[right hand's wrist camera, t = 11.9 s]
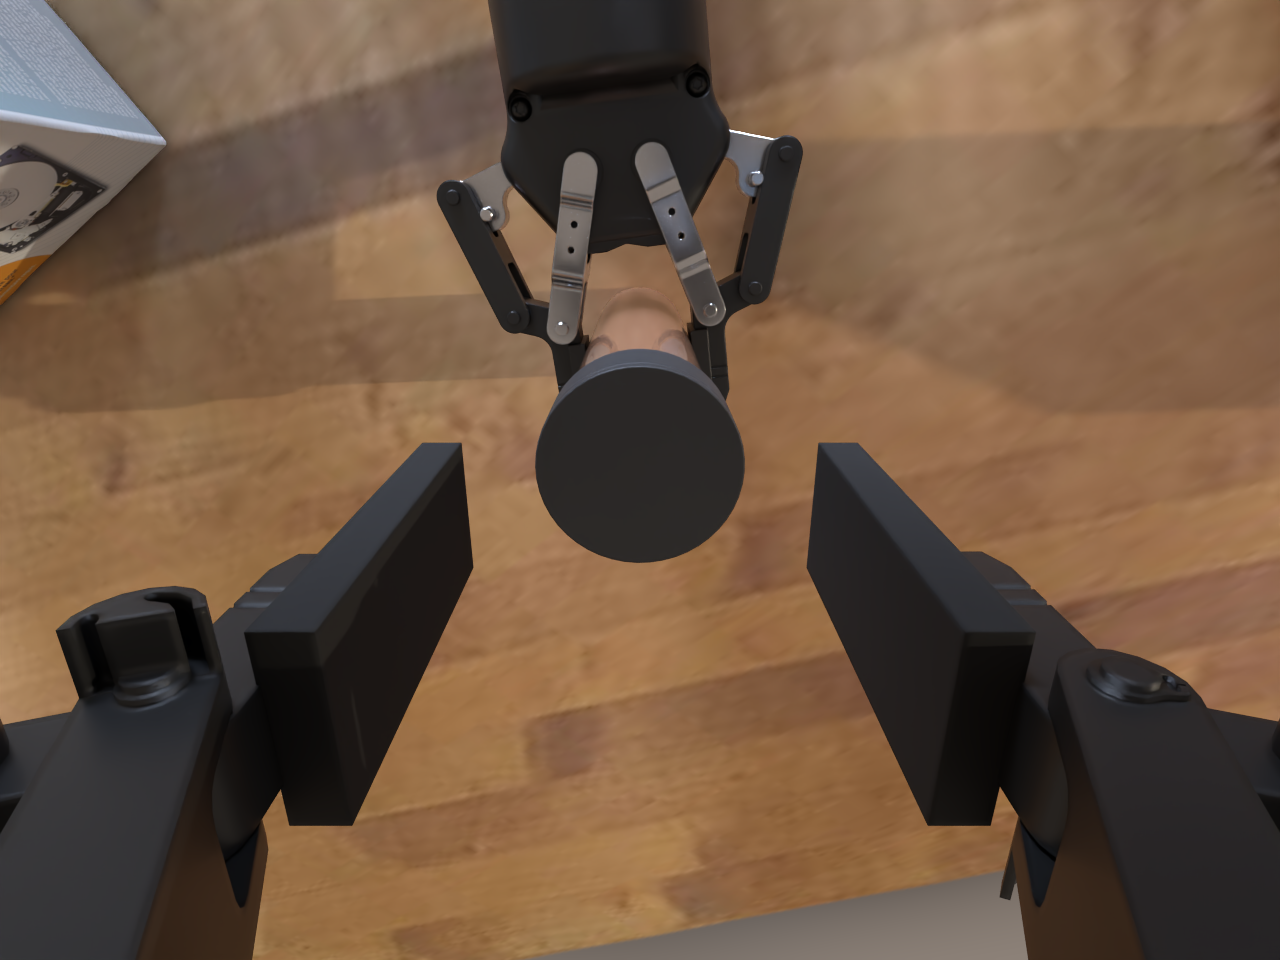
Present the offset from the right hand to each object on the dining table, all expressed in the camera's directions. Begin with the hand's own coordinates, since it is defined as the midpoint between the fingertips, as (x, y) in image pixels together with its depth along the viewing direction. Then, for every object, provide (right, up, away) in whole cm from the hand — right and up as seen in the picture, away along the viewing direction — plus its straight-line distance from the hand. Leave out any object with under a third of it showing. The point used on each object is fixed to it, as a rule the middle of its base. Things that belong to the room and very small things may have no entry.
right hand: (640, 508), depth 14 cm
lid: (0, +1, +2) cm, 3 cm away
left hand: (0, +3, +16) cm, 16 cm away
